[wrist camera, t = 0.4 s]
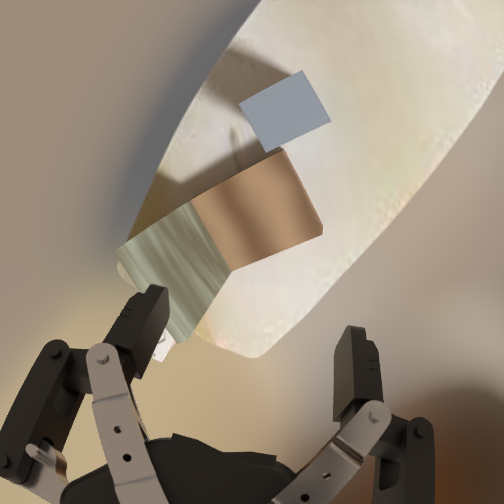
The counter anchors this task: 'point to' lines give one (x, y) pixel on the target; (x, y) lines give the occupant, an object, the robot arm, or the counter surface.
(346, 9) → the counter surface
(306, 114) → the grey block
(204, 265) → the bookend
